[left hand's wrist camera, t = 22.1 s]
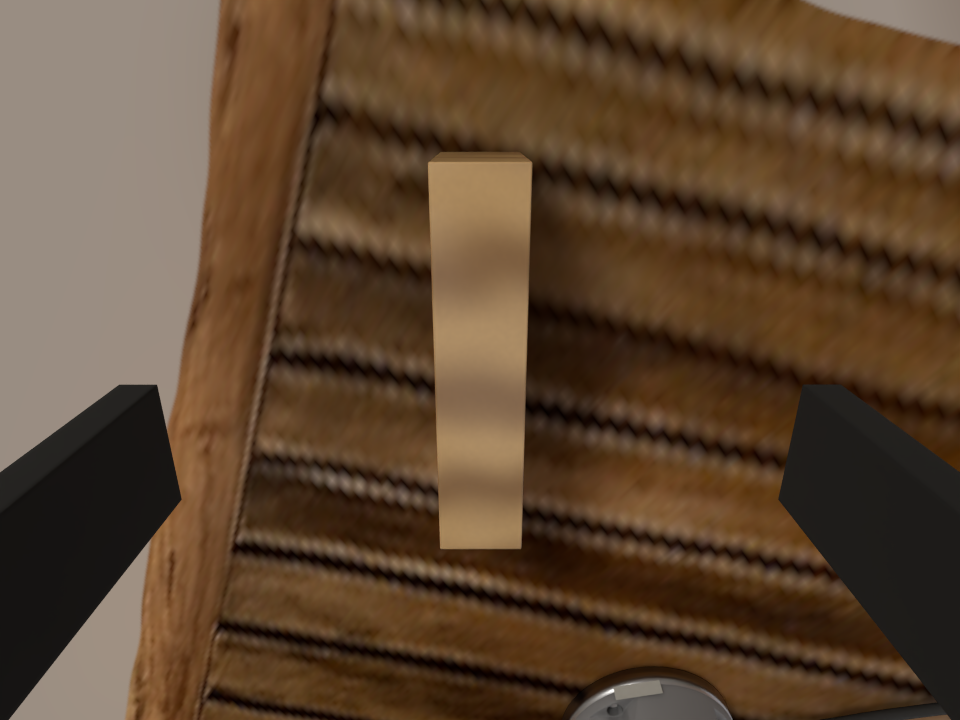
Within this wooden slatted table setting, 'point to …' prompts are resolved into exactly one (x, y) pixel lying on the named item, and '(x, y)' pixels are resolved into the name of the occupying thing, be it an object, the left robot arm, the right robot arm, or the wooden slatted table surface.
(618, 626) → the wooden slatted table surface
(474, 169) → the bar
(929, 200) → the wooden slatted table surface
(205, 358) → the wooden slatted table surface
